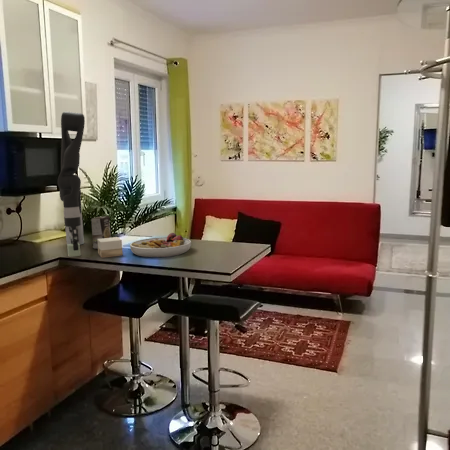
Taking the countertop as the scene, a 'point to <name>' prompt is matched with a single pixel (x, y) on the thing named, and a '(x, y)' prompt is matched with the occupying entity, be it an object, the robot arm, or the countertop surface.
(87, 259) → the countertop surface
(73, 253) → the sage cube
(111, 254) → the tower base
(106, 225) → the coffee box
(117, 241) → the tower top
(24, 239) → the countertop surface
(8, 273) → the countertop surface
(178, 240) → the bowl
